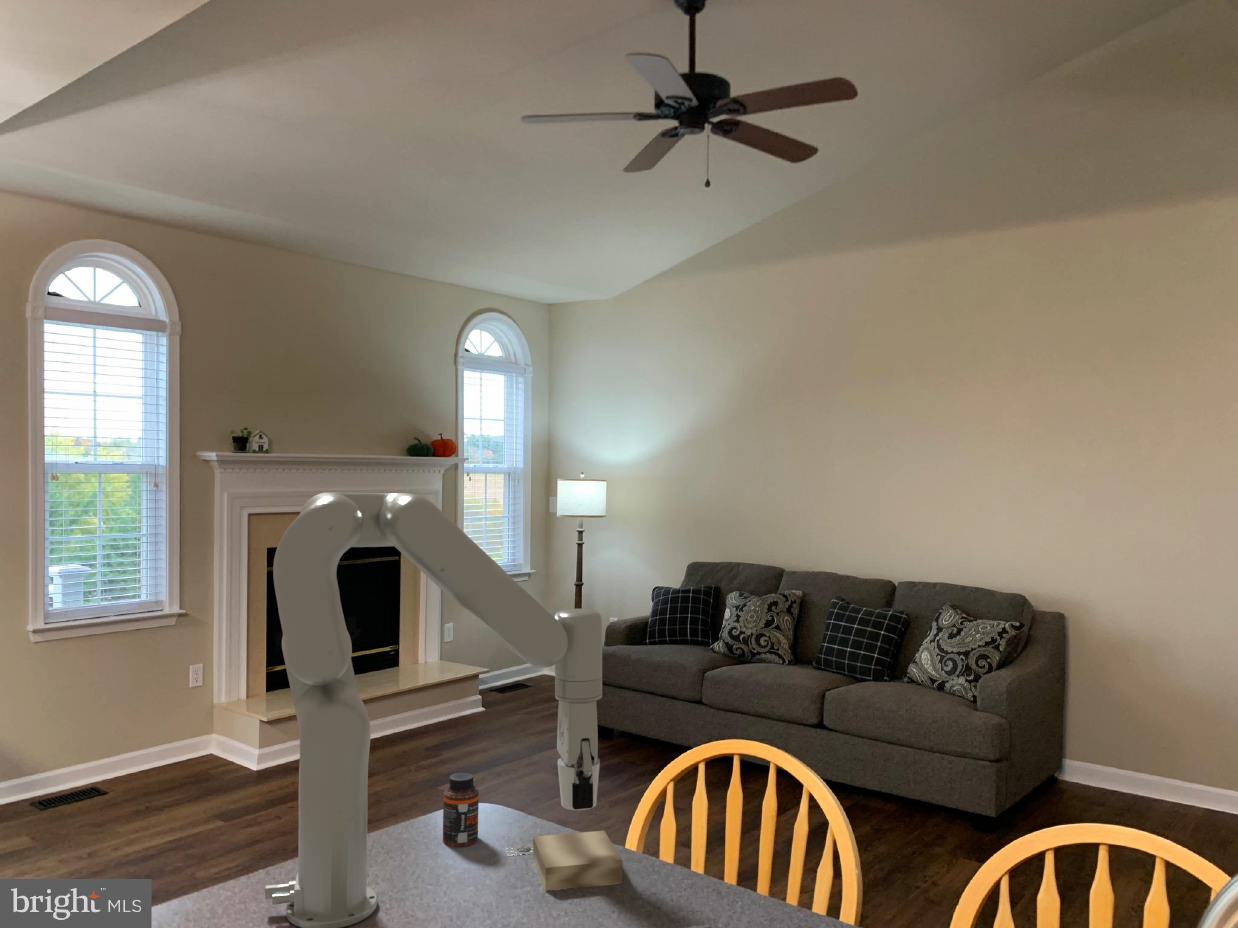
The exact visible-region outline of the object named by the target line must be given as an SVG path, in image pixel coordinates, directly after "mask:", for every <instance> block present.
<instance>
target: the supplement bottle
mask: <svg viewBox="0 0 1238 928" xmlns="http://www.w3.org/2000/svg"><path fill="white" fill-rule="evenodd" d="M448 785H449V786H448V787H447V788H446V789H444V791H443V802H442V803H443V806H442V807H443V808H442V809H443V811H442V812H443V813H442V815H443V816H442V842H443V844H444V845H445V846H448V847H451V848H466V847H470V846H473V845H474V844H476V843H477V842H478V838H479V799H480V798H479V794H480V792H479V790H478V788H477V787H475V785H474V775H473V774H472V773H467V772H458V773H457V772H456V773H453V774H451V775H450V776H449V783H448Z"/></svg>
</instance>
